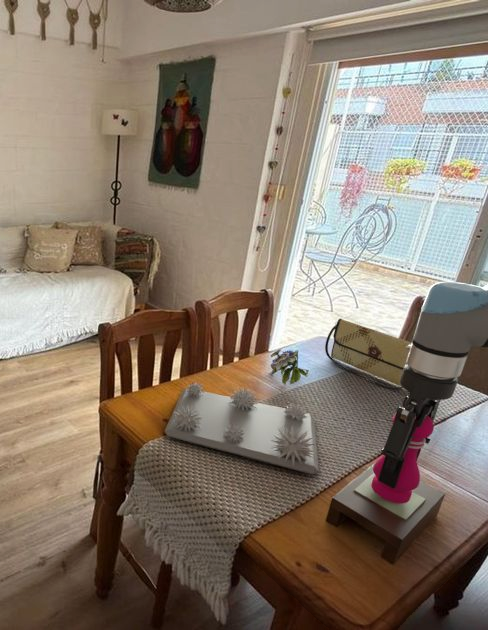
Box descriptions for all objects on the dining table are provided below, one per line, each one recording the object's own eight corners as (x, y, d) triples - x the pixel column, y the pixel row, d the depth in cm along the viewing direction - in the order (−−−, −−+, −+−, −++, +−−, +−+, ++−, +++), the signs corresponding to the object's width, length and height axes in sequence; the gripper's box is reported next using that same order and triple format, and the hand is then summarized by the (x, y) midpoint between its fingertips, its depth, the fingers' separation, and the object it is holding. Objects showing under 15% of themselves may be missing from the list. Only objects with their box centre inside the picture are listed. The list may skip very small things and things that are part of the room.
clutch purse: (317, 359, 155) (326, 319, 150) (329, 355, 158) (339, 316, 153) (409, 399, 130) (424, 353, 125) (422, 393, 133) (437, 349, 128)
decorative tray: (312, 422, 119) (320, 390, 116) (317, 484, 97) (326, 447, 94) (183, 393, 133) (186, 364, 130) (162, 441, 112) (165, 408, 108)
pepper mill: (364, 492, 86) (391, 405, 79) (372, 473, 91) (398, 389, 84) (409, 512, 81) (442, 421, 74) (415, 491, 86) (446, 403, 79)
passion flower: (270, 388, 147) (268, 352, 150) (307, 388, 143) (304, 352, 146) (271, 383, 137) (269, 346, 140) (311, 384, 133) (307, 345, 136)
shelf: (436, 516, 89) (446, 492, 87) (393, 564, 79) (402, 539, 76) (372, 481, 98) (379, 458, 96) (325, 520, 88) (332, 496, 86)
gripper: (428, 348, 85) (396, 446, 93) (381, 377, 74) (349, 484, 82) (478, 363, 79) (439, 466, 87) (434, 396, 68) (394, 510, 76)
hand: (395, 475), depth 85 cm, fingers closed on pepper mill, 7 cm apart
